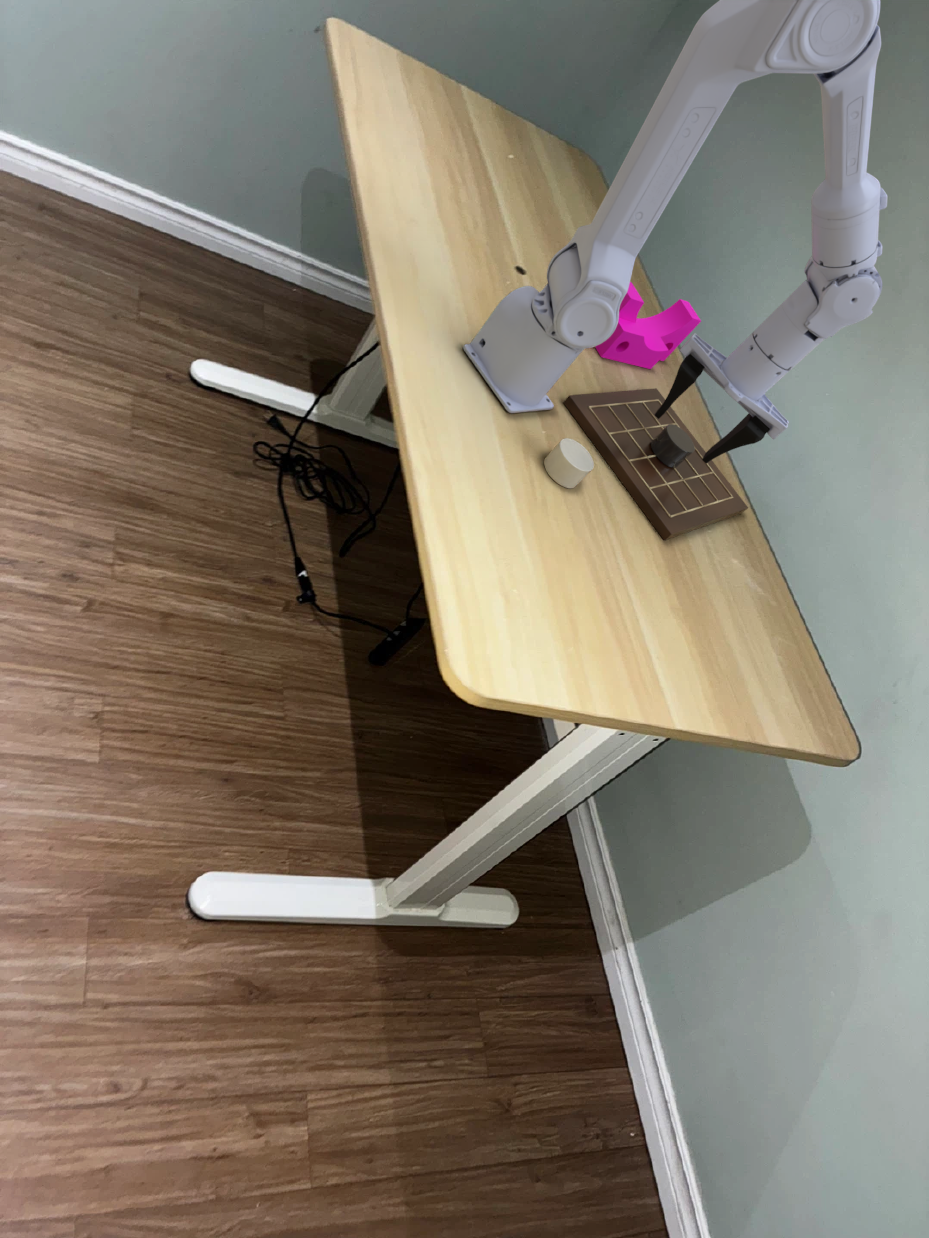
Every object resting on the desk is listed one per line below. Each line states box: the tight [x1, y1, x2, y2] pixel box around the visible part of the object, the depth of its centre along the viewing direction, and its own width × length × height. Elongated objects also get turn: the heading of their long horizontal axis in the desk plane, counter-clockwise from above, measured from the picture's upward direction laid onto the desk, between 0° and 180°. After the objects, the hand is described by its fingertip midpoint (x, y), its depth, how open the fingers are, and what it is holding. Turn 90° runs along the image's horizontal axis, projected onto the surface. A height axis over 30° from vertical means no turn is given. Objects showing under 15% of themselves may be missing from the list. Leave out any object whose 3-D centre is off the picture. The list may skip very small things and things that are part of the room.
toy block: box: [594, 281, 702, 370], centre depth 109 cm, size 15×6×8 cm, turn 115°
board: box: [563, 387, 749, 541], centre depth 98 cm, size 20×20×1 cm
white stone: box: [543, 437, 595, 489], centre depth 85 cm, size 4×4×3 cm
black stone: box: [651, 424, 695, 468], centre depth 97 cm, size 4×4×3 cm
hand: (682, 436), depth 96 cm, fingers open, 7 cm apart
